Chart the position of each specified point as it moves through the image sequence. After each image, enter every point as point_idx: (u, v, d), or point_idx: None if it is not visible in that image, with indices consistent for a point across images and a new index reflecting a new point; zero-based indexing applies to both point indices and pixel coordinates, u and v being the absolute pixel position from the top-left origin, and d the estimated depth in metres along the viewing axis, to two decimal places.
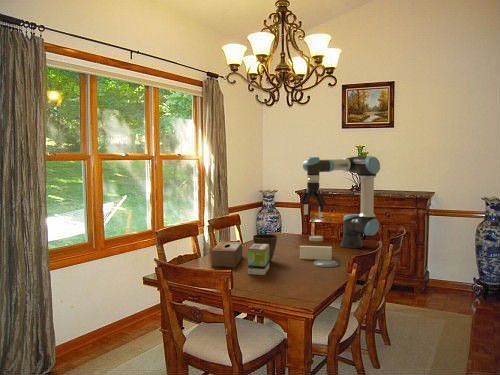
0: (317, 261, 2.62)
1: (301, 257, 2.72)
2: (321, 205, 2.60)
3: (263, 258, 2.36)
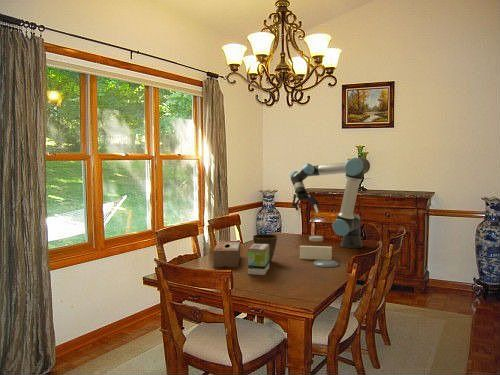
0: (317, 261, 2.62)
1: (301, 257, 2.72)
2: None
3: (263, 258, 2.36)
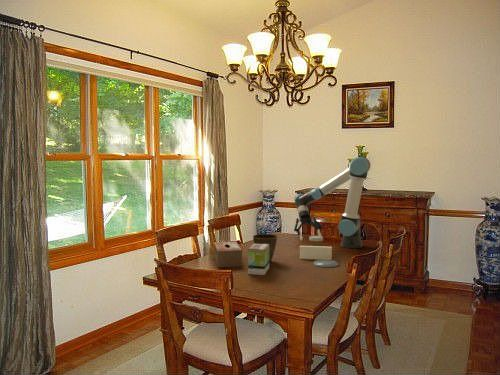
0: (317, 261, 2.62)
1: (301, 257, 2.72)
2: None
3: (263, 258, 2.36)
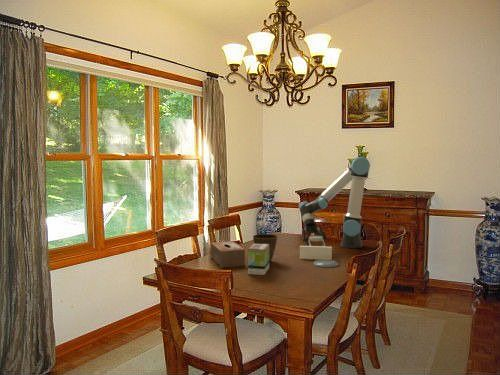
0: (317, 261, 2.62)
1: (301, 257, 2.72)
2: None
3: (263, 258, 2.36)
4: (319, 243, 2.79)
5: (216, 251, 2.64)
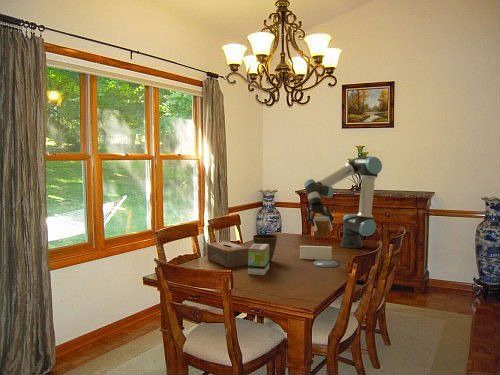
0: (317, 261, 2.62)
1: (301, 257, 2.72)
2: None
3: (263, 258, 2.36)
4: (325, 223, 2.56)
5: (218, 252, 2.62)
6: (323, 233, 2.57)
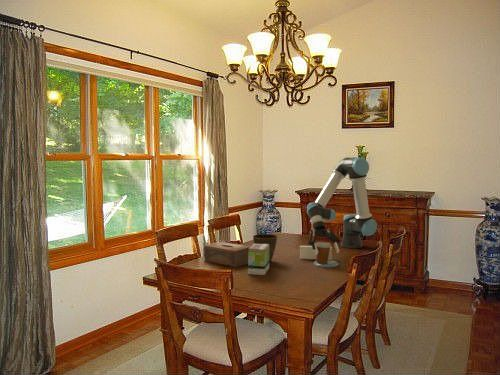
0: None
1: (301, 257, 2.72)
2: None
3: (263, 258, 2.36)
4: (326, 250, 2.55)
5: (220, 252, 2.61)
6: (324, 260, 2.55)
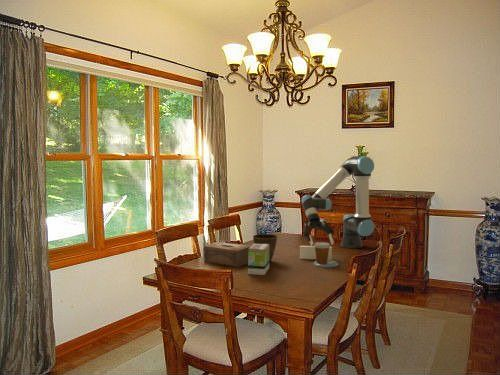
0: None
1: (301, 257, 2.72)
2: (306, 236, 2.64)
3: (263, 258, 2.36)
4: (325, 250, 2.54)
5: (221, 252, 2.61)
6: (324, 260, 2.55)
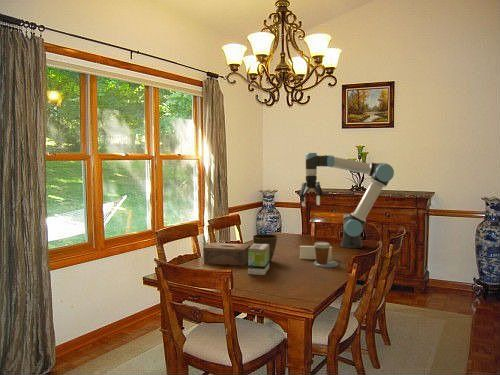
0: None
1: (301, 257, 2.72)
2: None
3: (263, 258, 2.36)
4: (325, 250, 2.54)
5: (224, 252, 2.60)
6: (324, 260, 2.55)
